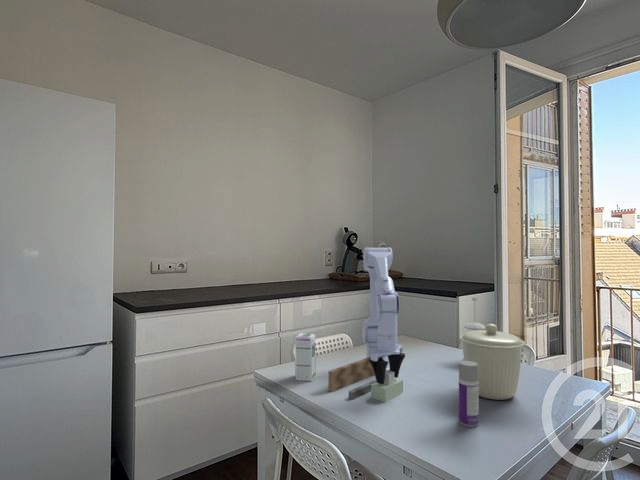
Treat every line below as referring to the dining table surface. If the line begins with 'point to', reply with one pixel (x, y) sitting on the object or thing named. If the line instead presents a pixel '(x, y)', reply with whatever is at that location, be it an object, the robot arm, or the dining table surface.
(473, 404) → the container
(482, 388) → the canister
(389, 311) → the robot arm
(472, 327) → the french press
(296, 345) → the syrup box
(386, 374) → the mint block with knob
